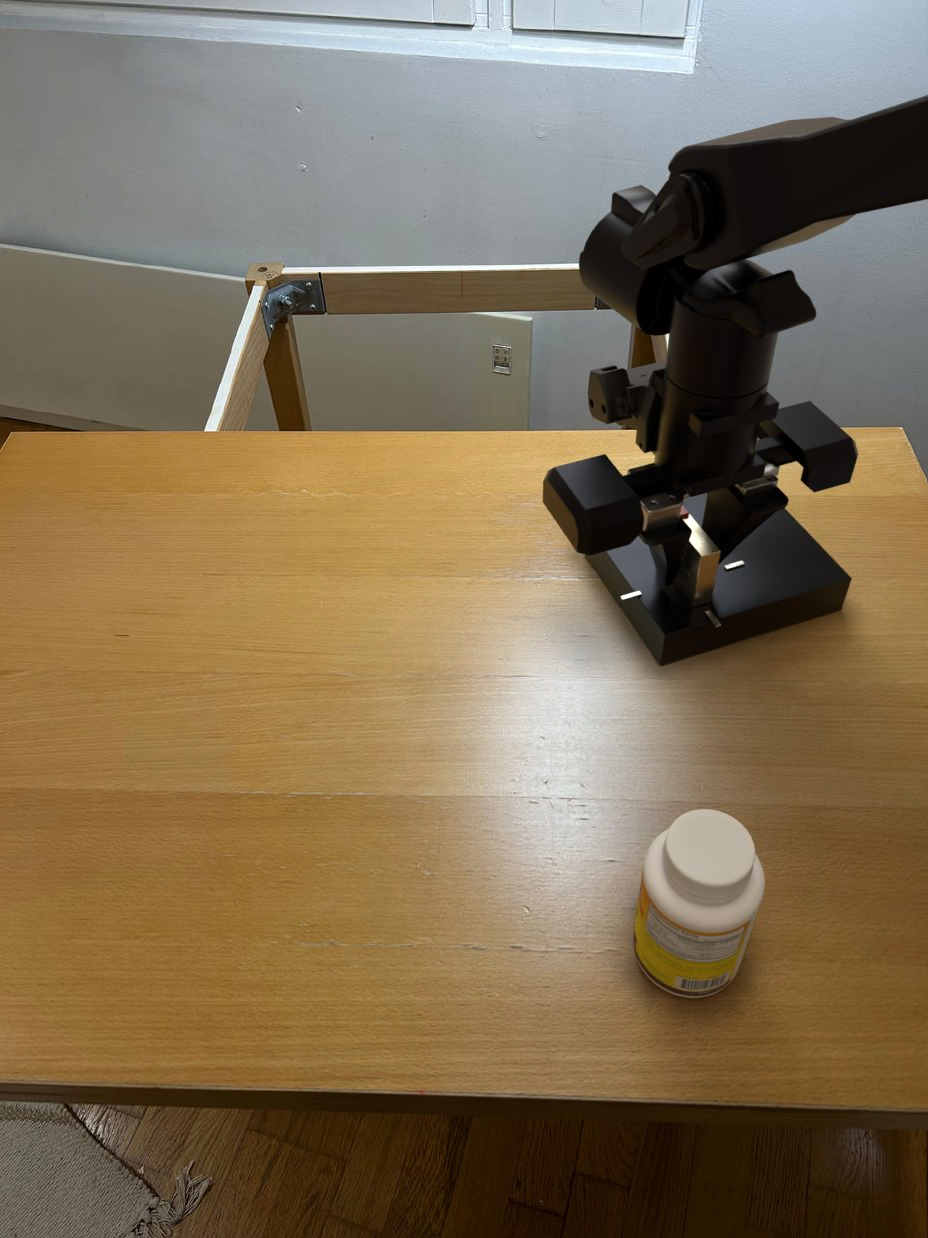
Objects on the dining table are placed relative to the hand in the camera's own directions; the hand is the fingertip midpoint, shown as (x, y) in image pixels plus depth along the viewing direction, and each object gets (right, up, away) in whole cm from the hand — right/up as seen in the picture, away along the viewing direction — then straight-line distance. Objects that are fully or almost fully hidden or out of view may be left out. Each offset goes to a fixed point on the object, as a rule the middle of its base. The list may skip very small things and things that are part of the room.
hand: (684, 575), depth 66 cm
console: (+3, 0, +5) cm, 5 cm away
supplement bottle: (-3, -20, -15) cm, 25 cm away
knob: (0, 0, 0) cm, 0 cm away
